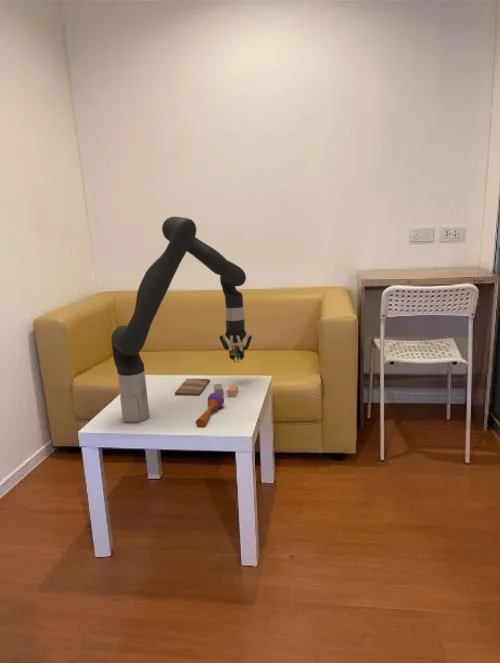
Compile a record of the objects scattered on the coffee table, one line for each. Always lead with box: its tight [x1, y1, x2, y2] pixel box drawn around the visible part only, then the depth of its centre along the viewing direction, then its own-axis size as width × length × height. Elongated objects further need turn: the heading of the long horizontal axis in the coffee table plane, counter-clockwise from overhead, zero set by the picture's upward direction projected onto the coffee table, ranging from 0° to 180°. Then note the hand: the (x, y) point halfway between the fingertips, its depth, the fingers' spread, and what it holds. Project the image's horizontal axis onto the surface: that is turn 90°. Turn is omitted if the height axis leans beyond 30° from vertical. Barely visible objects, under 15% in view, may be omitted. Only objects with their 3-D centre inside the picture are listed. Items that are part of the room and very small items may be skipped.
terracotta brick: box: [226, 384, 239, 398], centre depth 202 cm, size 6×3×3 cm, turn 169°
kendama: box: [195, 391, 225, 428], centre depth 183 cm, size 6×6×20 cm
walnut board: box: [174, 378, 211, 397], centre depth 211 cm, size 16×10×1 cm, turn 169°
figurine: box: [230, 343, 240, 363], centre depth 210 cm, size 3×12×8 cm, turn 158°
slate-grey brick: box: [213, 383, 224, 397], centre depth 204 cm, size 6×3×3 cm, turn 9°
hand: (237, 359), depth 211 cm, fingers closed on figurine, 3 cm apart
